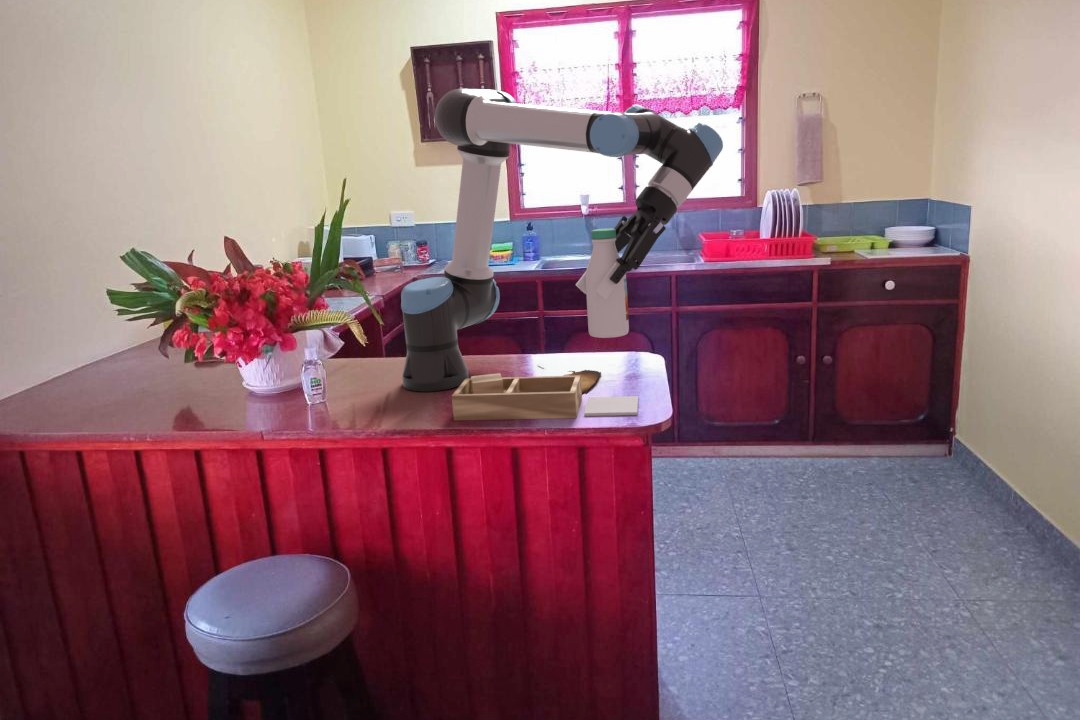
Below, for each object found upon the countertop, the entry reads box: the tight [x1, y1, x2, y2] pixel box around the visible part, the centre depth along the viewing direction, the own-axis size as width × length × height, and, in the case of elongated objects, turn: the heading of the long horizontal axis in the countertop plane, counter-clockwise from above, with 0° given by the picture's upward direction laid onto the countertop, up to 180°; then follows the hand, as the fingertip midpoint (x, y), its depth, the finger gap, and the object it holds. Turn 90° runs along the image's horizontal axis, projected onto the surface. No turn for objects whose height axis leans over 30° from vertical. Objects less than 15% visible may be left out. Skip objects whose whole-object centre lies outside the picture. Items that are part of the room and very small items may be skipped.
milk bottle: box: [585, 227, 630, 339], centre depth 148 cm, size 8×8×20 cm
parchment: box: [562, 369, 602, 396], centre depth 170 cm, size 25×10×1 cm, turn 159°
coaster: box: [584, 395, 639, 417], centre depth 154 cm, size 10×10×1 cm
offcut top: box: [470, 372, 504, 394], centre depth 157 cm, size 5×6×4 cm
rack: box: [451, 375, 583, 421], centre depth 157 cm, size 12×24×5 cm, turn 82°
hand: (590, 292), depth 148 cm, fingers closed on milk bottle, 8 cm apart
